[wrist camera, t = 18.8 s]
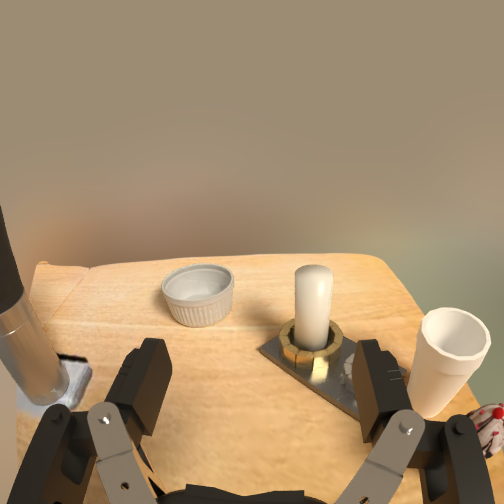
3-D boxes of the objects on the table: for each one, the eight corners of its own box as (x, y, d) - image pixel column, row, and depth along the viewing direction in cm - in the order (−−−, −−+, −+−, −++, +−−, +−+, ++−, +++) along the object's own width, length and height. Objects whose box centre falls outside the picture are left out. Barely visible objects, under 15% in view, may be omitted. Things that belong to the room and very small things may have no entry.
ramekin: (214, 284, 65) (210, 255, 62) (251, 312, 56) (248, 281, 53) (158, 307, 58) (150, 277, 55) (188, 343, 49) (180, 311, 46)
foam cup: (463, 403, 31) (502, 335, 25) (423, 439, 28) (465, 374, 22) (423, 367, 39) (448, 299, 33) (381, 395, 36) (405, 325, 30)
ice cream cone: (451, 455, 24) (512, 379, 17) (460, 491, 19) (533, 424, 12) (412, 464, 25) (468, 391, 18) (418, 504, 20) (488, 444, 13)
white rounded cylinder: (287, 347, 45) (286, 274, 39) (309, 332, 48) (312, 261, 42) (311, 363, 41) (316, 288, 36) (333, 346, 44) (340, 273, 39)
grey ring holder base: (260, 352, 46) (259, 335, 44) (307, 321, 52) (308, 304, 50) (364, 424, 32) (370, 409, 30) (404, 375, 38) (411, 358, 36)
